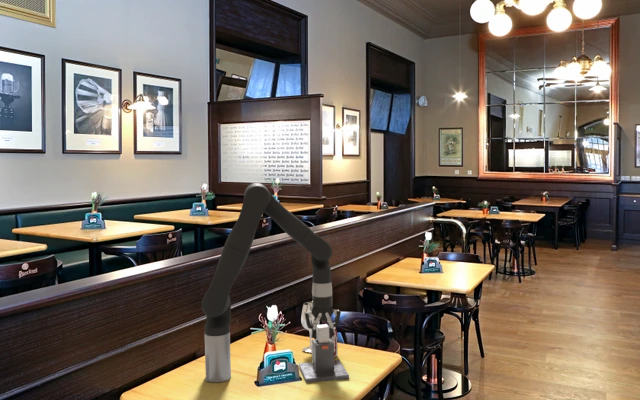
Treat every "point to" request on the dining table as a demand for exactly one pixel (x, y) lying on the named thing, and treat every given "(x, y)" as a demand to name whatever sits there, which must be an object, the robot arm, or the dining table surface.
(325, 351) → the stand base
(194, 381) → the dining table surface
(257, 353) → the dining table surface
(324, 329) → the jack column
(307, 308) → the wineglass
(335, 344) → the soda can
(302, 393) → the dining table surface
